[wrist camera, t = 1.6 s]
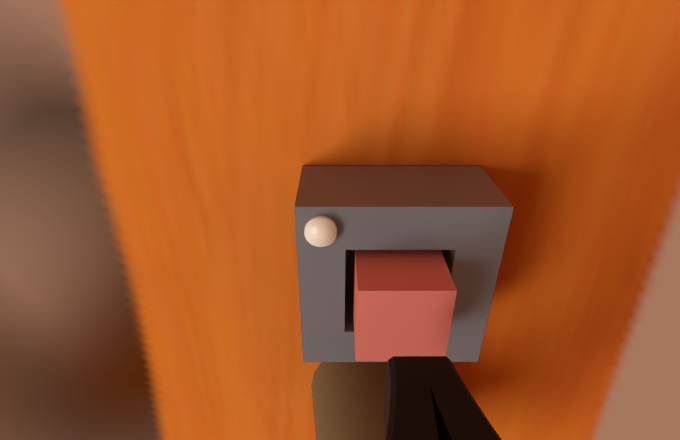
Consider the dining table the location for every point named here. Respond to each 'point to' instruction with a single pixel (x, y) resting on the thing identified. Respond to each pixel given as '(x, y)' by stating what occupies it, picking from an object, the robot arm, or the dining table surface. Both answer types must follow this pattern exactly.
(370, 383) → the cork
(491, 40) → the dining table surface
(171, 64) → the dining table surface
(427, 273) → the button
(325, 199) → the block
